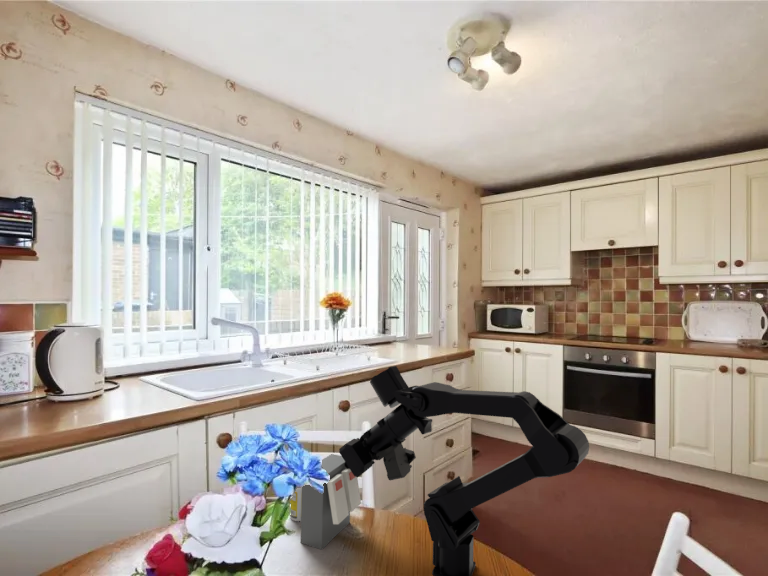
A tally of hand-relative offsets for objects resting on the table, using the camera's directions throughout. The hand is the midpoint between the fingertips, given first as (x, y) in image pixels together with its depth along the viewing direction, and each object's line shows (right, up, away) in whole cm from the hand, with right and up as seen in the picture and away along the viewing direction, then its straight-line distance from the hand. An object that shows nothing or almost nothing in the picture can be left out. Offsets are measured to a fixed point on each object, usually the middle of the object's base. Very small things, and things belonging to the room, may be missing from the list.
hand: (346, 466), depth 88 cm
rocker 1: (0, -8, -6) cm, 10 cm away
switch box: (-4, -13, -2) cm, 14 cm away
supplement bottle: (-10, -13, +4) cm, 18 cm away
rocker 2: (+2, -8, -1) cm, 8 cm away
